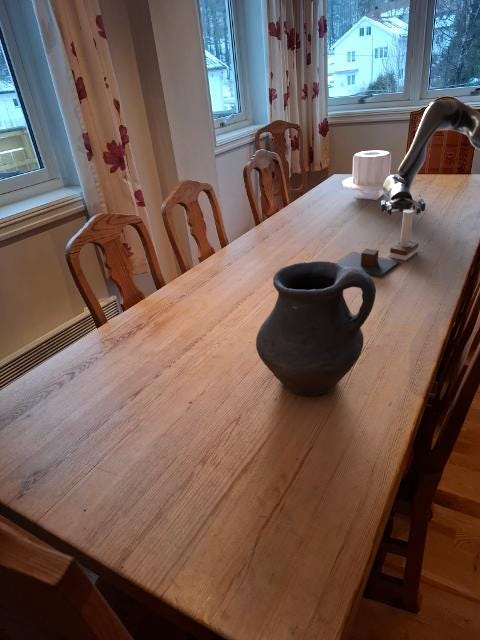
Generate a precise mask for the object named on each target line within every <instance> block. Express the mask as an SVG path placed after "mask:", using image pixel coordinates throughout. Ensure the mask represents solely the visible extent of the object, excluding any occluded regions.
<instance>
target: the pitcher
mask: <svg viewBox="0 0 480 640" xmlns="http://www.w3.org/2000/svg"><path fill="white" fill-rule="evenodd" d="M336 263H337V262H334V261H323V260H322V261H320V260H319V261H318V260H317V261H309V262H305V261H304V262H298V263H292V264H290V265H286V266H283V267H281V268H280V269H278V270H276V272H275V273H274V275H273V278H272V281H273V282H272V284H273V285H272V286H273V287H274V289H275V290H276V291H277V294H278V296H277V299H276V302H275V304H274V306H273V309H272V310H271V311H270V313H269V315H268V316H267V317H266V319H265V320H264V321H263V323H262V324H261V325H260V327H259V330H258V331H257V334H256V338H255V341H256V342H255V348H256V351H257V354H258V356H259V358H260V360H261V361H262V363H263V364H264V366H265V367H267V369H268V370H269V371H270V372H271V373H272V374H273V375H274V377H275V378H276V379H277V380H278V381H279V382H280V383H281V384H282V386H283V387H284V388H285V389H286V390H288V391H290V392H292V393H293V394H295V395H299V396H303V397H321V396H324V395H328V394H329V393H330V392H331V391H332V390H333V388H335V387H336V385H337V384H338V383H339V382H340V381H341V380H342V379H343V378H344V377H345V376H346V375H348V373H349V372H350V371H351V370H352V368H353V367H354V366H355V365H356V363H357V362H358V360H359V358H360V357H361V354H362V351H363V347H364V338H365V337H364V333H363V331H362V326H363V325H364V323H365V322H366V321H367V319H368V318H369V316H370V314H371V312H372V310H373V308H374V305H375V300H376V296H377V287H376V284H375V282H374V280H373V278H371V275H370V274H367V273H366V272H364V271H363V270H360V269H357V268H353V267H346V266H342V265H339V264H336ZM350 288H357V289H360V290H361V298H362V303H361V304H360V306H359V310H358V312H356V314H353V312H351V310H350V308H349V306H348V303H347V302H346V300H345V299H346V298H345V297H344V291H345V290H347V289H350Z"/></svg>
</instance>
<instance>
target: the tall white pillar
mask: <svg viewBox="0 0 480 640" xmlns="http://www.w3.org/2000/svg"><path fill="white" fill-rule="evenodd" d="M413 216H414V211H412V210H405V211H403V212H402V220H401V222H402V223H401V231H400V241H398V243H396V244H394V245H392V246H391V247H390V248H389V253H390V258H392V259H395V260H396V259H397V260H401V261H407V260H408V259H410V258H411V257H412V256H413V255H415V254H417V252H418V248H419V242H416V241H411V236H412V235H411V233H412V225H413Z"/></svg>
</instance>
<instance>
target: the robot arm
mask: <svg viewBox="0 0 480 640" xmlns="http://www.w3.org/2000/svg"><path fill="white" fill-rule="evenodd" d="M421 118H422V119H421V121H420V123H419V126H418V128H417V131H416V133H415V136H414V138H413V140H412V143H411V145H410V148H409V149H408V151H407V153H406V155H405V156H404V158H403V160H402V161H401V163H400V165H399V166H398V168H397V174H398V176H396V175H390V176H389V177H388V178H387V179H386V180H385V182H384V184H383V191H384V193H383V194H384V195H386V196H387V197H388V202H387V200H385V199H382V200H381V203H380V212H381V213H385V212H386V214H387V215H388V216H392V213H394V212H396V213H403V211H405V210H412V211H413V212H414V213H415V215H416V216H418V215H419V214H421V213H422V212H425V211H426V206H427V205H426V202H425V200H424V199H423V198H420V199H419V200H418V201H415V200H414V199H413V196H412V193H411V190H412V187H413V184H414V183H413V182H414V180H415V178H416V177H417V175H418V173H419V172H420V170H421V168H422V167H423V165H424V164H425V161H426V159H427V152H428V144H429V142H430V139H431V138H433V136H434V134H435V133H436V132H437V131H438V132H439V131H455V132H457V133H461V134H463V135H464V136H467V138H468V141H469V142H470V144H471V145H472V147H474V148H475V149H476V150H478V151H480V112H479V111H477V110H475V109H473V108H472V107H470V106H468V105H467V104H466V103H464V102H462V101H461V100H459V99H438V100H437V99H436V100H434V101H432V102H431V103H430V104H429V106H428V107H427V108H426V109H425V111H424V113H423V116H422V117H421Z"/></svg>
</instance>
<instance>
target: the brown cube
mask: <svg viewBox="0 0 480 640" xmlns="http://www.w3.org/2000/svg"><path fill="white" fill-rule="evenodd" d="M379 251H380V250H379V249H372V248H364V250H363V251H361V252H360V253H361V265H365V266H371V267H374V266H375V265H376V263H377V262H378V257H379Z"/></svg>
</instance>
